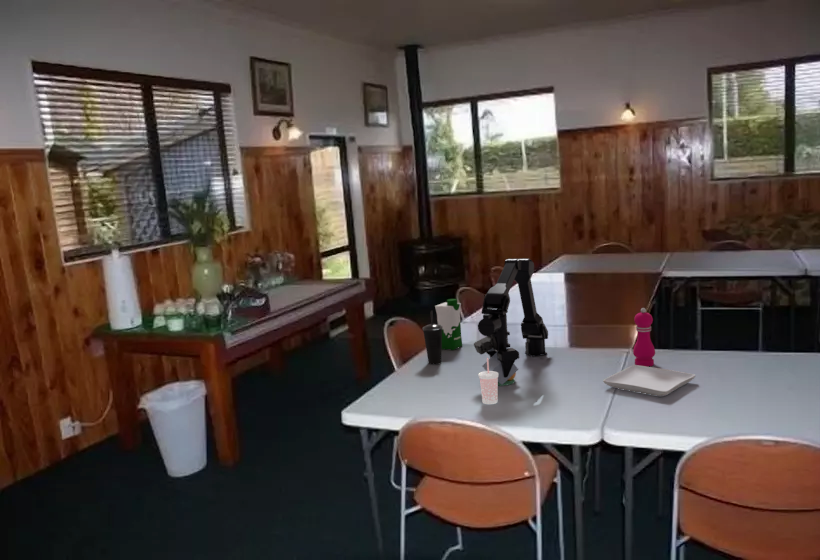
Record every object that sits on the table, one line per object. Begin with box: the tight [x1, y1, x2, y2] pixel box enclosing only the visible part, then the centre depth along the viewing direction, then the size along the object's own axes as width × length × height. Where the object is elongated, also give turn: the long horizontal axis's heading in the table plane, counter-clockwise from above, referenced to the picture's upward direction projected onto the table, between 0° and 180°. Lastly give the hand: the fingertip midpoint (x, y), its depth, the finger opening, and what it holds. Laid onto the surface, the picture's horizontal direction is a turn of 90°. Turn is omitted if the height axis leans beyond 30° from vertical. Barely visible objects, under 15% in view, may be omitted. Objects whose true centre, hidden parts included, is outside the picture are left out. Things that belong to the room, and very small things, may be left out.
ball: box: [507, 371, 517, 381], centre depth 226 cm, size 5×5×5 cm
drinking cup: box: [422, 310, 443, 365], centre depth 253 cm, size 8×8×20 cm
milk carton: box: [434, 298, 463, 351], centre depth 274 cm, size 9×9×20 cm
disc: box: [498, 378, 516, 387], centre depth 226 cm, size 9×9×1 cm
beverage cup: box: [477, 357, 499, 405], centre depth 206 cm, size 6×6×14 cm
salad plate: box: [602, 364, 696, 397], centre depth 211 cm, size 21×21×3 cm
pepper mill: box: [632, 307, 656, 367], centre depth 232 cm, size 7×7×20 cm
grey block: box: [481, 352, 519, 385], centre depth 226 cm, size 8×8×6 cm
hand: (500, 374), depth 226 cm, fingers open, 8 cm apart
